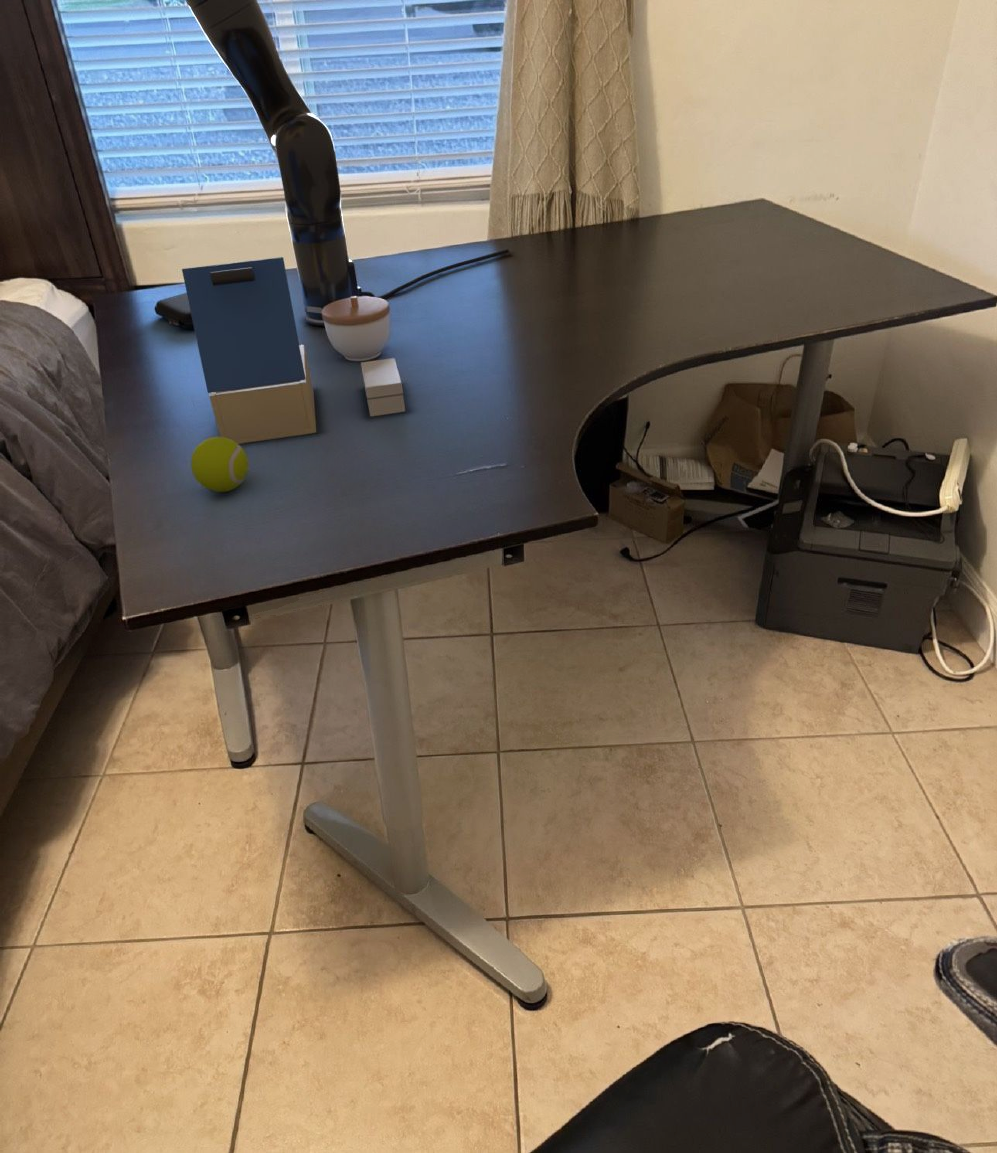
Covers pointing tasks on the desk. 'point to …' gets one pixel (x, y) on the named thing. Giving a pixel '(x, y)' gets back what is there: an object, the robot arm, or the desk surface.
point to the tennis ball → (219, 464)
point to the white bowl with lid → (358, 326)
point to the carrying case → (176, 310)
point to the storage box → (266, 410)
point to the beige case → (383, 387)
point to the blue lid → (244, 324)
